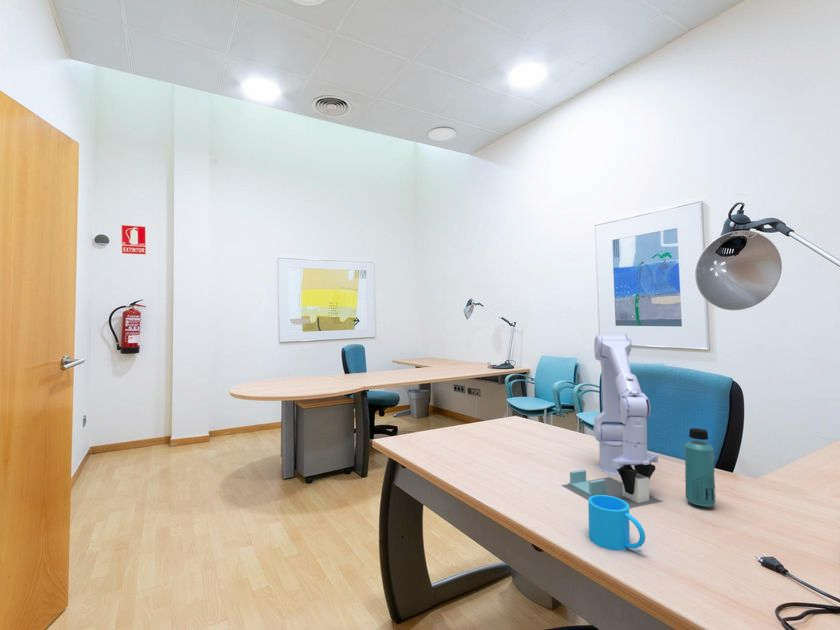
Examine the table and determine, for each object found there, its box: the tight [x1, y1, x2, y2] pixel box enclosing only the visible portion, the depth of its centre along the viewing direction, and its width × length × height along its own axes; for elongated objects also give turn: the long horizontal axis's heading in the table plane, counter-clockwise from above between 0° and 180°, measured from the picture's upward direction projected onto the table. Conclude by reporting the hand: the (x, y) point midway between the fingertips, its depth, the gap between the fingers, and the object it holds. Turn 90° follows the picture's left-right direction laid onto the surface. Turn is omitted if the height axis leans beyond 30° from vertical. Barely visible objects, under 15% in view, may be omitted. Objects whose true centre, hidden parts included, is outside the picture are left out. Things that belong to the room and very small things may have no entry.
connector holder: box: [568, 469, 608, 497], centre depth 115 cm, size 6×8×4 cm
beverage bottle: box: [684, 427, 717, 508], centre depth 105 cm, size 6×7×20 cm
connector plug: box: [621, 473, 650, 503], centre depth 109 cm, size 4×5×6 cm
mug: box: [587, 495, 646, 551], centre depth 87 cm, size 12×8×8 cm
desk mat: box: [561, 476, 663, 509], centre depth 112 cm, size 18×18×1 cm
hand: (635, 491), depth 109 cm, fingers closed on connector plug, 4 cm apart
